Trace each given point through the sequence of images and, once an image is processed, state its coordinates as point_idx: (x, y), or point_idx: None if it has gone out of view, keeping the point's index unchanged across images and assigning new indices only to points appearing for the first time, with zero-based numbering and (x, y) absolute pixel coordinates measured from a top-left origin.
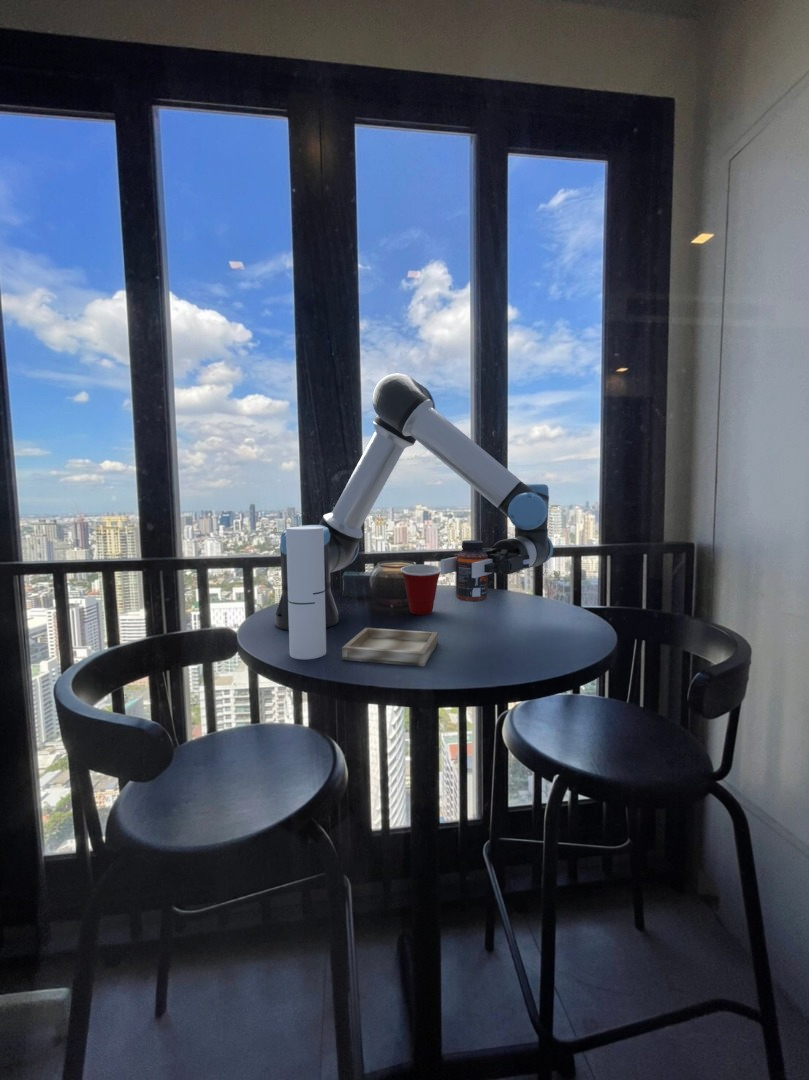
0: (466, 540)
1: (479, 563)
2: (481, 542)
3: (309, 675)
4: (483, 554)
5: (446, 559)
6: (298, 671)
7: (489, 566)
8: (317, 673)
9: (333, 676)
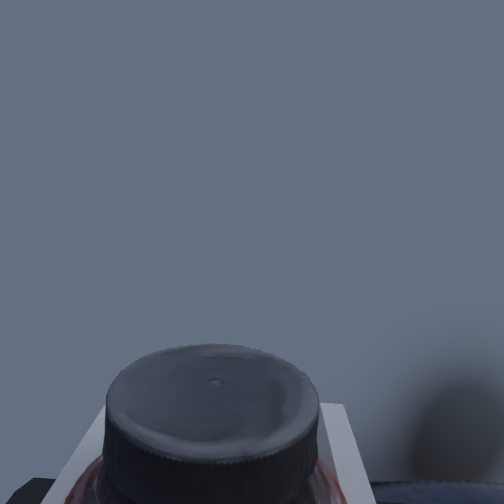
0: (299, 400)
1: (99, 420)
2: (114, 380)
3: (431, 484)
4: (89, 466)
5: (326, 418)
6: (467, 488)
7: (31, 486)
8: (433, 496)
9: (396, 500)
